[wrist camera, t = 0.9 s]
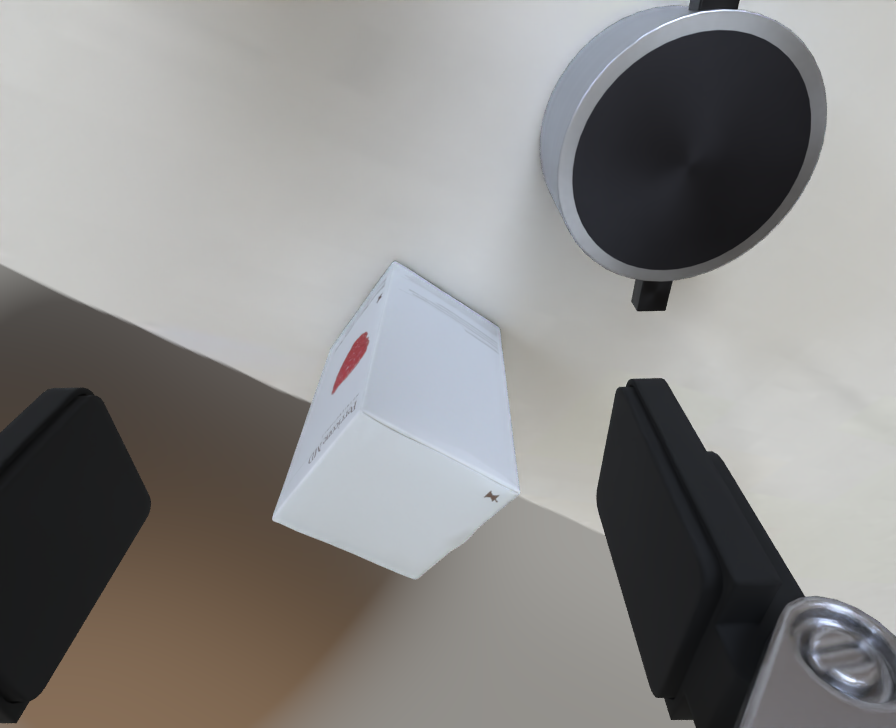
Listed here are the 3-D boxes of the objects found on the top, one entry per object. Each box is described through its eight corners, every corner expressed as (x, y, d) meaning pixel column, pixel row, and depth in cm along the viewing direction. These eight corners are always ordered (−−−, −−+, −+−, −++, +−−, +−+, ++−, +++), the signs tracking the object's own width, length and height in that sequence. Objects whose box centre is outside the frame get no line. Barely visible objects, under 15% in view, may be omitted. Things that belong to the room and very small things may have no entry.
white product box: (393, 254, 33) (360, 406, 21) (502, 326, 36) (529, 495, 24) (324, 350, 38) (264, 523, 25) (427, 407, 41) (418, 586, 28)
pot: (552, -42, 25) (577, -50, 20) (809, -51, 25) (900, -62, 20) (530, 270, 34) (544, 318, 29) (718, 265, 34) (764, 312, 29)
